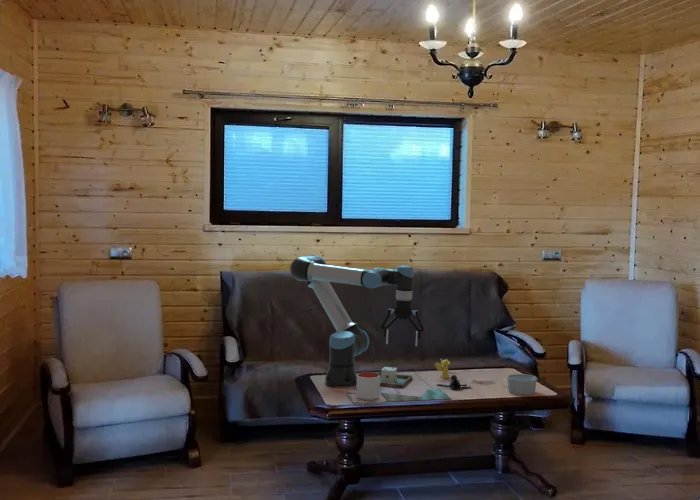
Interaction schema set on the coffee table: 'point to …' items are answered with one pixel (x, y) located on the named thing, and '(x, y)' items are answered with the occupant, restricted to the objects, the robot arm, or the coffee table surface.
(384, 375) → the die
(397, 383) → the dice tray
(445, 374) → the figurine
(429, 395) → the track
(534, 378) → the ramekin
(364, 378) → the cup
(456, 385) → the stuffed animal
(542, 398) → the coffee table surface
